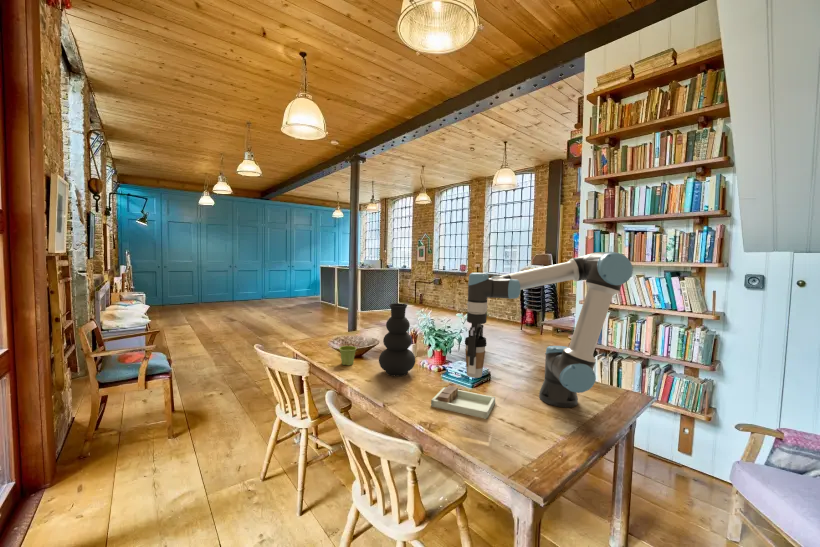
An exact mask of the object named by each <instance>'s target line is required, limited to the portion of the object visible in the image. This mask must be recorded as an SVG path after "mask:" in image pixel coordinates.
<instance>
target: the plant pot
mask: <svg viewBox="0 0 820 547" xmlns="http://www.w3.org/2000/svg"><path fill="white" fill-rule="evenodd" d="M338 350H339V352H340V359H341V361H340V362H341V364H342V366H352V365H353V364H354V361H355V354H356V352H357V346H354V345H343V346H339V348H338Z"/></svg>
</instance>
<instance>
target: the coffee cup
mask: <svg viewBox="0 0 820 547" xmlns="http://www.w3.org/2000/svg"><path fill="white" fill-rule="evenodd" d="M468 338H469V336H466V337H465V338H464V340H465V341H464V345H465V365H466V366H465V367H466V368H465V369H466V376H467V377H469V378H472V379H473V378H474V379H478V378H481V377H482V376H483V370H484V363H485V356H486V347H487V338H486V337H485V336H483V337H481V339H478V340H477V344H476V356H475V357H476V373H475V374H472V373H468V362H469V357H468V356H466V354H467V351H468Z"/></svg>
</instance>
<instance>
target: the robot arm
mask: <svg viewBox="0 0 820 547" xmlns="http://www.w3.org/2000/svg"><path fill="white" fill-rule="evenodd" d="M632 275H633V265H632V263H631V261H630V258H628V256H626V255H624V254H622V253H619V252H617V251H616V252H615V251H605V252H602V251H595V252H591V253H588V254H585V255H581V256H578V257H573V258H570V259H569V260H568V261H566V262H560V263H556V264H555V263H554V264H552V265H546V266H541V267H537V268H532V269H527V270H522V271H521V270H520V271H518V272H513V273H508V274H503V275H493V276H491V277H489V274H488V273H486V272H470V273H469V275H468V282H467V303H465V304H466V306H467V311H468V312H467V313H466V322H467V323H468V324H471V326H470V328H469V330H468V337H469V338H468V351H467V354H466V353H465V357H466V356H468V357H469V362H468V373H472V374H475V373H476V357H475V356H476V344H477V340H478V339H481V337H484V324H486V323H487V320H488V318H487V316H488V314H487V313H488V298H490V299H492V298H494V299H509V300H511V299H518V298H519V297H520V295H521V291H522V290H527V289H531V288H535V287H536V288H537V287H542V286H546V285H551V284H557V283H562V282H568V281H574V282H580V281H585V285H586V286H587V292H586V293H585V294H586V295H585V298H584V300H583V304H582V306H581V310H580V313H579V315H578V318H577V321H576V325H575V327H574V331H573V332H572V333H573V334H572V336H571V339H570V343H569V345H568V346H564V345H550V346H549V345H548V346H547V347H546V348H545V353H544V354H545V360H544V361H545V362H544V364H545V365H544V380H543V383H542V384H541V387H540V390H539V395H538V397H539V400H541V401H542V402H543V403H546V404H548V405H551V406H554V407H559V408H574V407H577V405H578V404H579V403H578V401H579V397H578V394H580V393H581V394H582V393H585V392H588V391H589V390H591V389H592V388H593V387H594V385H595V384H596V374H595V370H594V367H595V365H596V362H597V361H596V359H595V357H594V352H595V350H596V347H597V345H598V344H597V343H598V341H599V338H600V335H601V332H602V329H603V326H604V323H605V321H606V317H607V315H608V312H609V308H610V307H611V302H612V299H613V296H615V295H616V294H618V293H620V290H621V287H622V285H623V284H625V283H628V282H629V280H630V279H631V277H632ZM577 393H578V394H577Z"/></svg>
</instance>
